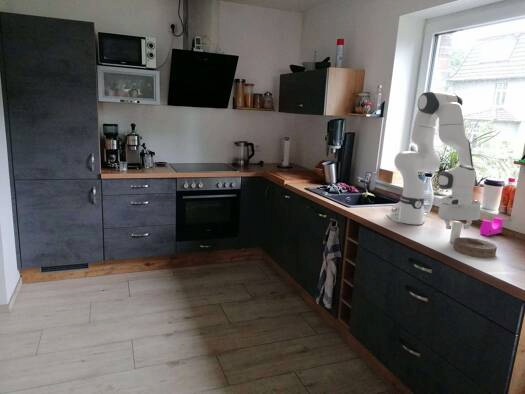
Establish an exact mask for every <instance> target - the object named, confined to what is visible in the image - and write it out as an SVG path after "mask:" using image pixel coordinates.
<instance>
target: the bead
mask: <svg viewBox="0 0 525 394" xmlns="http://www.w3.org/2000/svg"><path fill="white" fill-rule="evenodd" d="M497 248H498V247H497V245H496V244H494V243H492V242H490V241H487V240H484V239H479V238H473V237H467V236H466V237H464V236H463V237H461V236H460V237H459V238H456V239H455V241H454V243H453V250H454V251H456V252H458V253H460V254H462V255H465V256H469V257H474V258H480V259H481V258H482V259H493V258H494V257H496V256H497V255H496V254H497Z"/></svg>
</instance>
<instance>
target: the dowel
mask: <svg viewBox="0 0 525 394" xmlns="http://www.w3.org/2000/svg"><path fill="white" fill-rule="evenodd" d="M462 226H463V222H461V221H460V220H452V225H451V229H450V237H449V243H451V244H454V241H455V239H456V238H459V237H461V232H462Z"/></svg>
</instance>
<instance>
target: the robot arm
mask: <svg viewBox="0 0 525 394" xmlns="http://www.w3.org/2000/svg"><path fill="white" fill-rule="evenodd" d="M417 108H418V109H417V111H416V114H415V118H414V121H413V127H412V132H411V136H410V137H411V141H412V142H413V143H414V145H416V146H417V151H409V150H406V151H400V152H398V153H397V154H396V156H395V157H394V166H395V168H396V169H397V170H398V172H400V174H401V176H402V182H403V183H402V184H403V186H402V187H403V188H402V195H400V196H399V202H397V203H396V204H394V205H393V206H392V207H391V211H390V213H386V216H387V217H388V218H390V219H391V220H392V221H393V222H396V223H403V224H407V225H423V224H424V223H425V222H426V219H424V218H425V207H424V206H423V205H424V204H425V198H424V197H425V189H426V182H424V181H423V180H422V179H421V178H420V177H419V173H430V172H431V173H432V172H435V171H437V170H439V169H440V167H441V164H442V160H441V157H440V155H439V154H438V153H437V152H436V149H435V144H434V139H435V133H436V128H437V122H438V137H439V139H440V141H441V142H442V143H444V144H445V145H446V146H449V147H451V149H454V150H455V152H456V154H457V156H458V163H459V164H458V165H456V166H455V167H453V168H450V169H445V170H442V171H440V172H439V174H438V175H437V178H436V179H437V185H438V187H439V188H440V189H441V190H444V191H451V194H450V195H446V196H444V197H442V198H440V204H439V208H438V213H437V217H438V219H440V220H443V221H444V222H445V229H446V230H452V225H450V224H451V223H450V222H451V221H466V223H465V224H464V225H463V229H464V230H469V229H470V226H471V224H472V223H473V221H479V219H481V206H482V205H481V202H480V201H479V200H478V199H477V200H476V199H475V200H473V197H474V192H473V191H474V188H475V186H476V184H477V177H476V168H474V162H473V155H472V147H471V143H470V140H469V138H468V137H467V136H466V131H465V115H464V109H463V98H462V96H461V95H459V94H458V93H456V92H455V93H454V92H448V91H447V92H446V91H426V92H423V93H421V94H420V96H419V97H418V100H417Z"/></svg>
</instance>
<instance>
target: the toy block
mask: <svg viewBox="0 0 525 394" xmlns="http://www.w3.org/2000/svg"><path fill="white" fill-rule="evenodd" d="M503 224H504V218H501V217H493V220H492V221H491V220H486V219H482V222H481V225H480V229H479V232H480V235H483V236H486V237H489V236H492V235H496V234H500V233H502V231H503V230H502V229H503Z"/></svg>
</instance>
